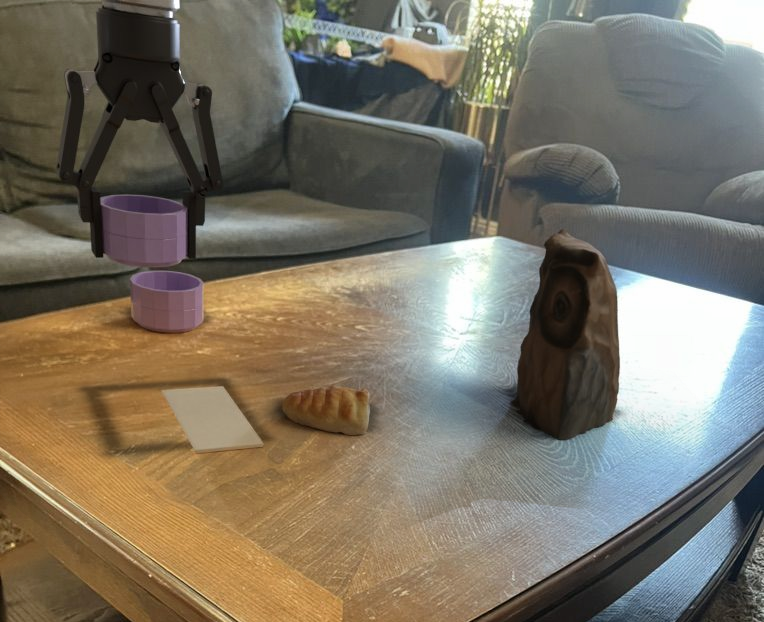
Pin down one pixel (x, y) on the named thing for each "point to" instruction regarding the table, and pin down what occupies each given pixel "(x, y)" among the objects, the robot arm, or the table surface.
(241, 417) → the place mat
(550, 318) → the owl
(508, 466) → the table surface
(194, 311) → the far dish
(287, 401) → the pastry
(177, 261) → the near dish
